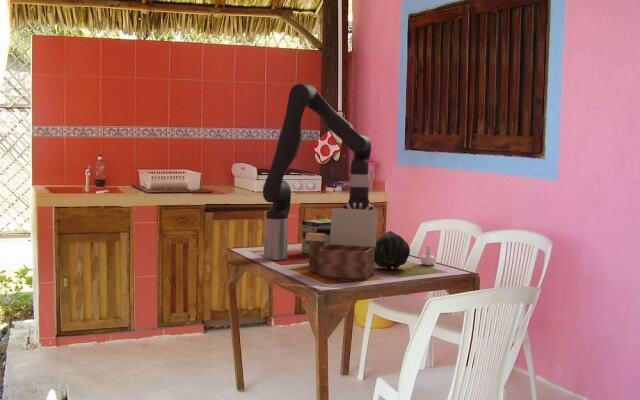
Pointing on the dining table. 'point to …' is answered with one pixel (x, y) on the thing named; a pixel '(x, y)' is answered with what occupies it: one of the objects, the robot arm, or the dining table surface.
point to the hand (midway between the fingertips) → (358, 228)
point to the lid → (353, 227)
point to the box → (341, 261)
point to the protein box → (311, 231)
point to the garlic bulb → (427, 258)
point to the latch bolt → (315, 237)
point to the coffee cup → (325, 231)
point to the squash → (391, 251)
